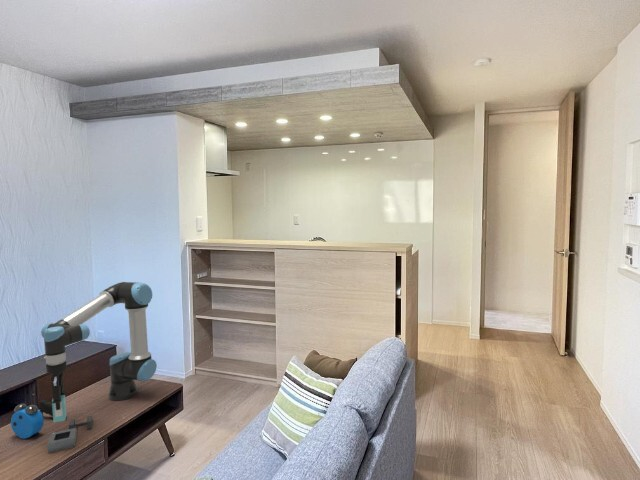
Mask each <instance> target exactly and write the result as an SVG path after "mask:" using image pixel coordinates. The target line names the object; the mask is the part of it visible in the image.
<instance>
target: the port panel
mask: <svg viewBox="0 0 640 480" xmlns="http://www.w3.org/2000/svg"><path fill="white" fill-rule="evenodd" d="M77 438H78V430H77V427H75V428H73V429H69V428H68V429H64V430H60V431H55V432H51V433H50V435H49V438H48V441H47V445H46V446H47V453H48V454H49V453H54V452H59V451H63V450H67V449H72V447H73V448H75V447H76V446H75V445H76V443H77Z"/></svg>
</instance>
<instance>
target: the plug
mask: <svg viewBox="0 0 640 480" xmlns="http://www.w3.org/2000/svg"><path fill="white" fill-rule="evenodd" d="M61 401H62V412H63V416H58V417H55V406H54V403H52V408H53V417H52V418H53V420H52V421H53V423H59V422H64V421H66V419H67V418H66V416H67V405H66V404H67V403H66V394H65V395H61ZM51 402H53V398H52V399H51Z"/></svg>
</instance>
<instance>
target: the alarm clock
mask: <svg viewBox="0 0 640 480" xmlns="http://www.w3.org/2000/svg"><path fill="white" fill-rule="evenodd" d="M13 409H14V410H13V411H14V413H13V414H12V416H11V419H10V426H11V429H12V431H13V433H14V434H15V435H16V436H17V437H18V438H21V439H28V438H31V437H32V436H34V435H36V434H37V435H39V432H40V431H42V430H43V426H44V424H45V421H44V415H43V416H42V413H41V412H40V409H39V408H38V406H37V405H35V404H30V405H28V406H27V404H26V403H20V404H17V405H16V406H15V408H13Z"/></svg>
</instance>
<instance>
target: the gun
mask: <svg viewBox="0 0 640 480" xmlns="http://www.w3.org/2000/svg"><path fill="white" fill-rule="evenodd" d="M38 406H39V408H40V409H39V411H40V412H41V413H42V416H43V417H44V413H45V414H46V415H49V416H51V417H52V418H53V408H52V401H49V400H46V399H41V400H40V401H39V403H38ZM67 418H68V415H66V419H67Z"/></svg>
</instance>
